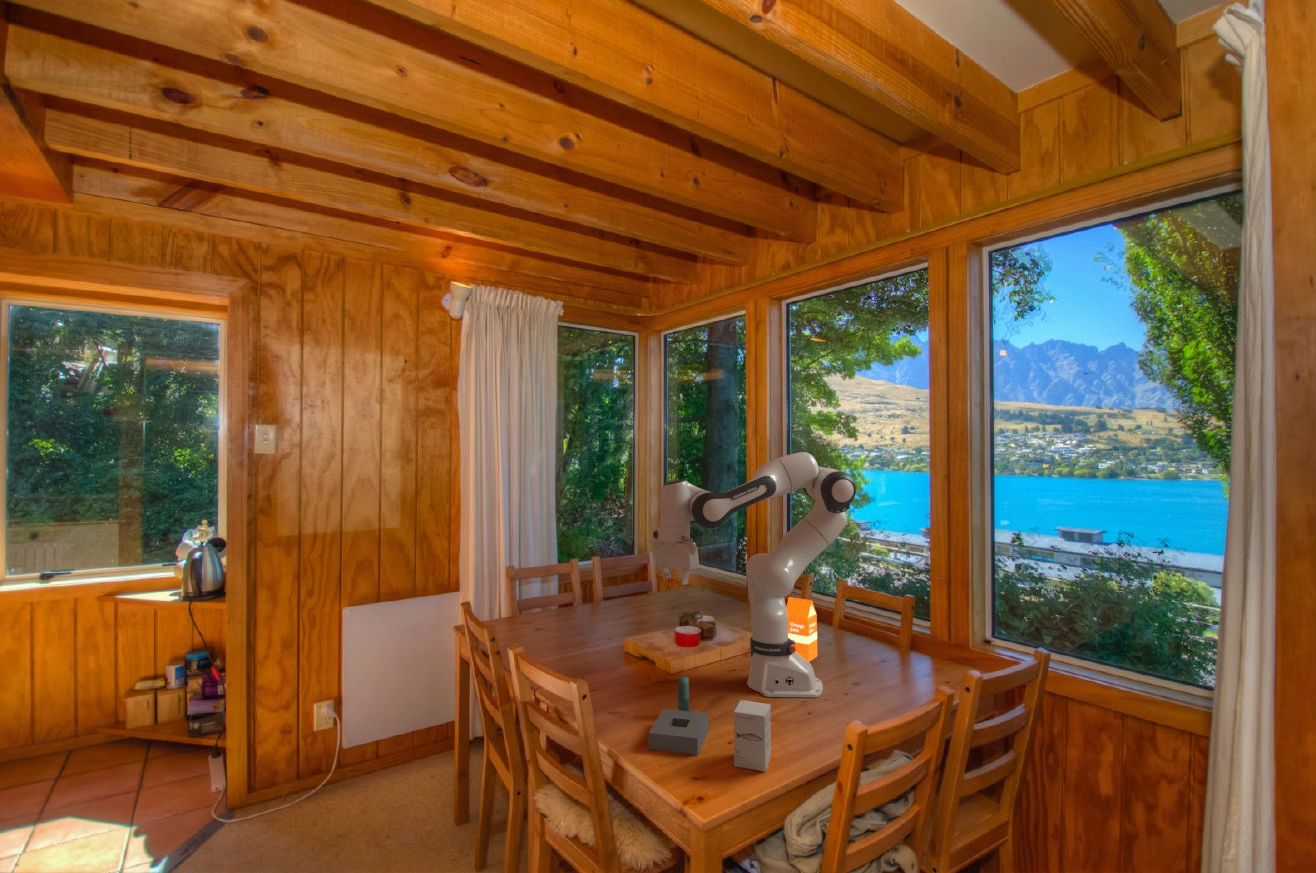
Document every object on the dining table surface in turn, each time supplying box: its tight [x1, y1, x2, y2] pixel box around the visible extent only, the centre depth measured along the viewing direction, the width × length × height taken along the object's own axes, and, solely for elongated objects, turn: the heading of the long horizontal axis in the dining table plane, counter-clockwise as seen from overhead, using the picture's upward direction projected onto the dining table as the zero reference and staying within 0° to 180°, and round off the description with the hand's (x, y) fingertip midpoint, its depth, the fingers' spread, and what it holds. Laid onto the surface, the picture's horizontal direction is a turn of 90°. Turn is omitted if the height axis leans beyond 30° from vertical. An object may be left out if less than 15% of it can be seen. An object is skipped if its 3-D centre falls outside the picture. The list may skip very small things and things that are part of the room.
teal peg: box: [677, 676, 690, 711], centre depth 165 cm, size 3×3×10 cm
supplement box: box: [733, 699, 772, 773], centre depth 140 cm, size 7×7×13 cm
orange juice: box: [786, 596, 818, 663], centre depth 210 cm, size 8×9×20 cm
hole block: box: [648, 708, 710, 756], centre depth 152 cm, size 12×14×4 cm
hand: (675, 581), depth 180 cm, fingers open, 8 cm apart
